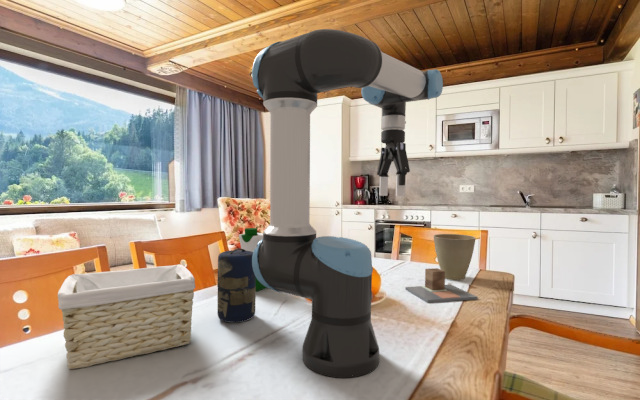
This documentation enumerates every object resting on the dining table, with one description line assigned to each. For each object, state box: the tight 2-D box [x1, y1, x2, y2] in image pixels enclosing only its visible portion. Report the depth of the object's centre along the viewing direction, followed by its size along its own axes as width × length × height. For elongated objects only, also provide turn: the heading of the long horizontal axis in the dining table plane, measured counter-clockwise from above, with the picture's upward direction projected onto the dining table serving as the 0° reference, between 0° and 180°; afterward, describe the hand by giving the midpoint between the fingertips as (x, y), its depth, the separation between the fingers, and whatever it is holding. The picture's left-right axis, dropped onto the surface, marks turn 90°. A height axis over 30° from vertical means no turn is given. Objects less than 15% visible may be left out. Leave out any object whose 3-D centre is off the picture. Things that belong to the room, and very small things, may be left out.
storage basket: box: [57, 264, 196, 370], centre depth 75 cm, size 24×16×15 cm
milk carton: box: [238, 227, 269, 292], centre depth 118 cm, size 9×9×20 cm
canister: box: [216, 247, 257, 323], centre depth 90 cm, size 10×10×18 cm
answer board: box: [405, 284, 478, 304], centre depth 113 cm, size 17×14×1 cm
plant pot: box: [433, 233, 476, 281], centre depth 134 cm, size 15×15×16 cm
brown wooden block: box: [424, 267, 446, 290], centre depth 117 cm, size 4×4×6 cm
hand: (391, 196), depth 115 cm, fingers open, 13 cm apart
